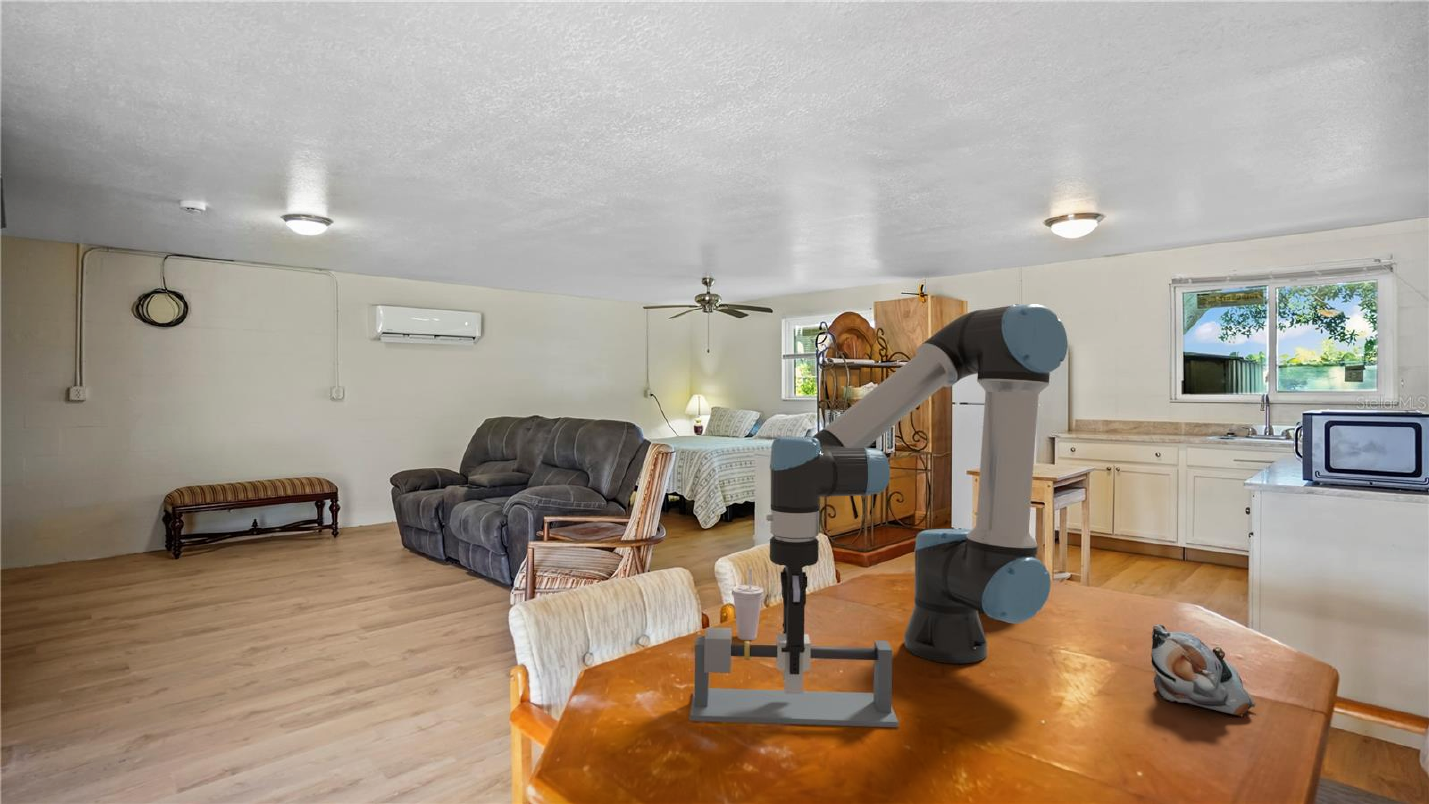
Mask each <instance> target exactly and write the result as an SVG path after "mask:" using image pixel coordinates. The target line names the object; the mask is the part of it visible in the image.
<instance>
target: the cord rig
mask: <svg viewBox="0 0 1429 804" xmlns="http://www.w3.org/2000/svg"><path fill="white" fill-rule="evenodd" d="M732 629H733V628H731V627H710V626H709V627H706V629H705V634H704V635H696V637H695V638H696V639H695V643H694V689H693V690H694V691H693V694H692V698H691V699H692V700H691V701H692V702H691V706H690V711H689V721H690V722H717V723H718V722H720V723H748V724H749V723H755V724H756V723H757V724H779V725H781V724H783V725H785V724H787V725H809V726H810V725H814V726H840V727H841V726H843V727H844V726H845V727H846V726H847V727H872V728H873V727H878V728H899V726H900V725H899V720H898V717H897V716H896V712H895V711H894V709H893V706H892V696H893V695H892V688H893V687H892V684H893V683H892V681H893V679H892V678H893V649H892V647H891V645H890V643H889V642H888V640H874V642H873V644H874V646H873V647H856V646H854V647H852V646H849V647H848V646H821V645H820V646H815V645H811V649H810V659H815V660H816V659H817V660H818V659H819V660H823V659H824V660H848V661H849V660H856V661H857V660H858V661H873V692H850V691H849V692H845V691H819V690H818V691H815V690H812V691H811V690H810V691H809V690H803V694H785V689H783V690H781V689H780V690H779V689H778V690H777V689H744V688H714V687H710V674H712V673H713V674H731V671H732V670H731V669H732V668H731V667H732V657H744V658H743V659H744V661H750V660H751V659H750V658H777V644H776V645H775V644H750V643H751V640H744V644H740V643H738V644H737V643H736V644H734V643H732V635H733V633H732Z"/></svg>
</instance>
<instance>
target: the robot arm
mask: <svg viewBox="0 0 1429 804" xmlns="http://www.w3.org/2000/svg"><path fill="white" fill-rule="evenodd" d="M1064 326H1065V325H1064V324H1063V322H1062V321H1061V319H1058V315H1057V314H1056V312H1054V311H1053V310H1052V309H1051V308H1048V307H1046V306H1044V305H1042V304H1035V303H1027V304H1025V303H1024V304H1023V303H1022V304H1017V303H1016V304H1012V305H1007V306H1001V307H995V308H990V309H989V308H988V309H978V310H973V311H970V312H967V313H965V314H963V315H961V316H959V317H957V318H955V319H954V320H953V321H951V322H949V323H948V324H946V325H945V326H943V328H941V329H939V330H938V331H937V332H935V333H934V334H933V335H931V336H930V337H929V338H928V339H926V340H925V341H924V342H922V343H921V344H920V345H919V346H918V347H917V349H916V352H915V353H916V355H915V356H913V357H912V358H911V359H909V360H908V361H907V362H906V363H904V364H903V365H902V366H901V367H900V368H898V369H897V370H895V372H893V373H891V375H889V376H888V377H887V378H886V379H884V380H883V381H881V382H880V383H879V384H878V385H877V386H876V387H874V388H873V389H871V390H870V391H869V392H868V393H867V394H865V395H864V396H863V397H862V398H860V399H859V400H857V401H856V402H855V403H854V404H853V405H851V406H850V407H848V408H847V409H846V410H845V411H844V412H842V413H841V414H840V415H838V417H836V418H835V419H834V420H832V421H831V422H830V423H829V424H827V425H826V426H824V427H823V428H822V429H820V430H819V431H818V432H817V433H815V434H814V435H813V436H780V437H779V436H778V437H777V438H775V439H774V440H773V442H772V443H771V451H770V461H769V462H770V463H769V469H770V513H771V514H767V515H766V516H765V517H766V519H765V520H766V521H767V522H770V529H769V530H770V534H771V535H772V536H771V538H770V539H769V560H770V561H771V563H773V564H775V565H779V566H784V567H783V569H782V571H780V578H779V579H780V584H781V598H782V602H783V608H782V609H783V611H782V612H783V613H782V614H783V616H782V617H783V622H782V629H783V632H782V634H786V647H781V652H785V670H782V681H784V690H785V694H803V691H804V690H803V687H804V671H803V653H804V650H805V647H804V634H805V606H806V604H807V587H808V576H807V572H806V571H803V568H804V567H806V566H807V567H811V566H814V565H816V564H817V563H818V561H819V552H820V551H819V542H820V541H819V540H818V538H816V537H818V536H819V534H820V498H828V497H851V496H852V497H854V496H855V497H857V496H863V497H866V496H871V495H876V494H881V493H883V492H884V491H885V490H886V488H887V487H888V485H889V482H890V478H891V473H890V472H891V466H890V463H889V460H888V457H887V455H886V454H885V453H884V451H882V450H880V449H879V448H872V447H869V446H871V445H872V444H873V443H874V442H876V441H877V440H878V439H879V438H880V437H882V436H883V435H884V434H885V433H887V432H888V431H889V430H891V429H892V428H893V427H894V426H896V425H897V424H898V423H899V422H900V421H902V420H903V419H904V418H905V417H907V416H908V415H909V414H910V413H912V411H914V410H915V409H916V408H917V407H919V406H921V405H922V404H923V403H924V402H925V401H926V400H927V399H929V398H930V397H932V396H933V395H934V394H935V393H936V392H937V391H939V390H940V389H941V388H942V387H945V388H950V387H953V386H954V385H955V384H957V382H959V381H960V380H962V379H964V378H966V377H969V376H972V375H976V374H977V376H976V377H977V379H976V381H977V383H978V384H979V385H980V386H981V387H982V388H983V390H984V393H985V394H984V411H983V423H982V437H981V450H980V451H981V452H980V453H981V454H980V465H979V466H980V467H979V478H978V479H979V480H978V490H977V492H978V493H977V494H978V495H977V507H976V508H977V509H976V520H975V521H976V522H975V526H974V528H973V529H966V528H940V529H939V528H936V529H924V530H922V531H920V532H918V533H917V535H916V538H915V546H914V550H913V553H914V603H913V605H914V606H913V609H912V613H911V615H910V618H909V620H908V623H907V626H906V629H905V632H904V648H905V649H906V650H907V651H908V652H910V653H911V654H912V655H915V656H917V657H919V658H921V659H926V660H929V661H933V662H939V663H944V664H945V663H947V664H972V663H977V662H980V661H983V660H985V658H987V656H988V641H987V638H986V635H985V632H984V628H983V625H982V622H981V618H980V614H979V613H981V614H984V615H986V616H987V617H989V618H990V619H993V620H997V621H1002V622H1005V623H1009V624H1020V623H1021V624H1022V623H1024V622H1027V621H1029V620H1031V619H1032V618H1034V617H1035V616H1036V615H1037V613H1038V612H1040V611H1041V610H1042V609H1043V608H1044V606H1045V604H1046V603H1047V601H1048V599H1049V595H1050V592H1051V587H1052V586H1051V583H1052V580H1051V575H1050V571H1049V570H1047V566H1046V565H1045V563H1043V562H1041V560H1040V559H1038V557H1037V555H1038V542H1037V541H1036V540H1035V539H1034V538H1033V537H1032V535H1031V534H1030V522H1031V521H1030V520H1031V509H1032V508H1031V507H1032V493H1033V480H1034V479H1033V476H1034V464H1035V462H1034V461H1035V451H1036V449H1035V448H1036V433H1037V422H1038V407H1039V406H1038V405H1039V395H1040V393H1041V392H1043V391H1044V390H1045V389H1046V388H1047V387H1048V386H1049V385H1050V376H1051V374H1050V373H1051V372H1053V371H1055V370H1057V369H1058V368H1059V367H1060V366H1061V365H1062V364H1061V363H1063V362H1064V361H1065V358H1066V356H1067V352H1068V345H1069V342H1068V335H1067V331H1066V328H1065V327H1064Z"/></svg>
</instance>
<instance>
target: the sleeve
mask: <svg viewBox="0 0 1429 804" xmlns="http://www.w3.org/2000/svg"><path fill="white" fill-rule="evenodd" d="M809 636H810V635H809V634H807V633H804V647H805V650H804V653H803V672H811V658H810V649H811V646H812V645H811V639H810V637H809ZM776 645H777V658H776V657H775V658H776V660H775V661H776V670H777V671H783V670H785V652H781V647H786V634H783V633H778V632H777V633H776Z"/></svg>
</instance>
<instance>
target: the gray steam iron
mask: <svg viewBox="0 0 1429 804" xmlns="http://www.w3.org/2000/svg"><path fill="white" fill-rule="evenodd" d="M1151 638H1152V644H1151V645H1152V646H1151V653H1150V654H1151V655H1150V657H1151V667H1152V668H1153V670H1154V672H1155V675H1154V677H1153V684H1154V687H1155V689H1156V691H1158V693H1159V694H1160V695H1161V697H1162V696H1163V697H1164V698H1165V699H1167V700H1169V701H1168V702H1174V701H1177V703H1186V704H1189V705H1193V706H1197V707H1201V708H1205V709H1209V710H1212V711H1213V710H1214V711H1218V712H1222V713H1224V714H1225V713H1226V714H1228V713H1229V715H1232V716H1235V715H1236V716H1235V717H1238V716H1241V715H1243V714H1244V715H1245V714H1246V711H1247V710H1248V711H1249V710H1250V709H1251V708H1255V707H1256V702H1255V701H1254V700H1253V698H1252V696H1251V695H1250V693H1249V692H1248V691H1247V690H1246V689H1245V688H1244V685H1243V681H1242V678H1241V676H1240V675H1239V673H1238V671H1237V669H1236V668H1235V667H1234V666H1232V665H1231V664H1230V663H1229V662H1228V661H1227V660H1226V659H1224V658H1225V657H1226V652H1225V651H1224V650H1223V649H1222V648H1221V647H1220V646H1216V647H1214V648H1213V649H1210V648H1209V646H1208V645H1206V644H1205V643H1204V642H1203V641H1202V640H1201V639H1200V638H1197V637H1196V636H1195V635H1194V634H1191V633H1188V632H1185V631H1170V632H1169V631H1168V630H1167V629H1166V628H1165V626H1164V625H1162V624H1156V625H1153V626H1152V632H1151ZM1163 697H1162V698H1163ZM1164 698H1163V699H1164ZM1165 699H1164V700H1165ZM1248 711H1247V712H1248ZM1244 715H1243V716H1244ZM1241 717H1242V716H1241Z"/></svg>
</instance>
